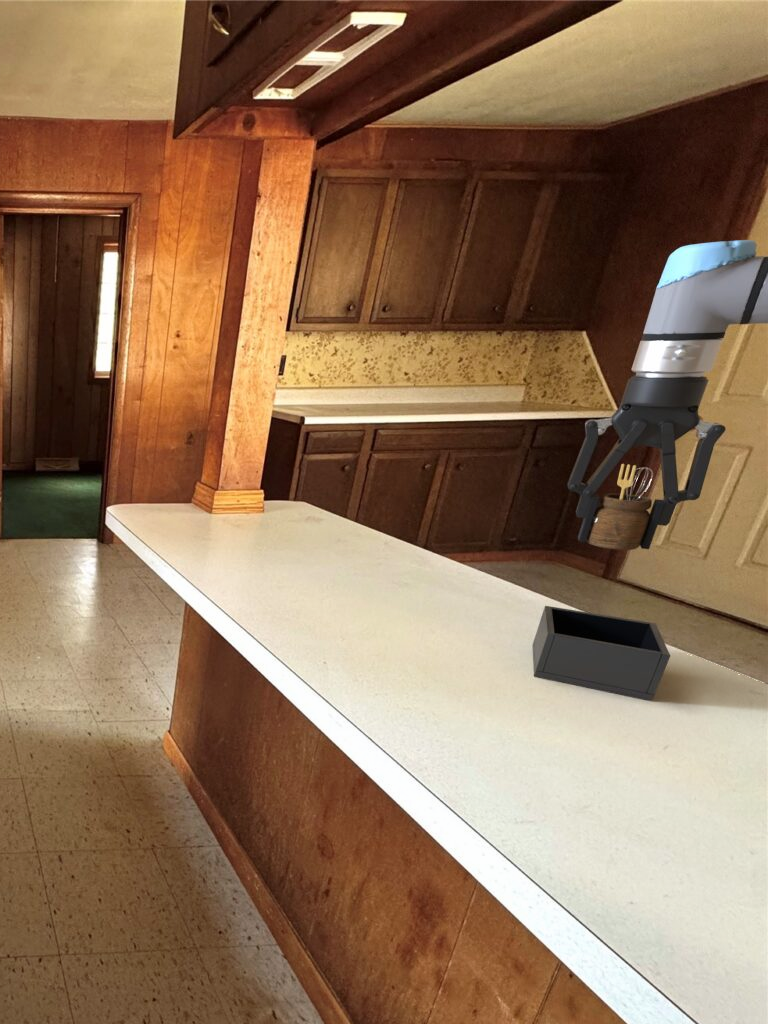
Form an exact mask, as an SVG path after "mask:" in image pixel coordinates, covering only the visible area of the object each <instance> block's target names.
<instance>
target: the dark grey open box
mask: <svg viewBox="0 0 768 1024" xmlns="http://www.w3.org/2000/svg"><path fill="white" fill-rule="evenodd" d="M670 658H671V653H670V651H669V649H668V647H667V644H666V643H665V640H664V639H663V636H662V634H661V632H660V630H659V627H658V625H657V623H656V622H650V621H643V620H637V619H632V618H625V617H620V616H619V617H618V616H612V615H605V614H600V613H595V612H594V613H593V612H588V611H582V610H576V609H570V608H562V607H555V606H550V605H544V608H543V609H542V614H541V617H540V619H539V624H538V627H537V629H536V633H535V635H534V640H533V642H532V663H533V677H535V678H540V679H545V680H549V681H554V682H559V683H564V684H569V685H574V686H578V687H582V688H587V689H593V690H597V691H601V692H607V693H611V694H615V695H621V696H625V697H630V696H631V698H635V697H636V699H640V700H644V701H649V702H652V701H653V699H654V697H655V694H656V692H657V690H658V687H659V685H660V682H661V680H662V678H663V675H664V673H665V670H666V667H667V665H668V663H669V660H670Z"/></svg>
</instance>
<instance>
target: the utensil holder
mask: <svg viewBox="0 0 768 1024" xmlns="http://www.w3.org/2000/svg"><path fill="white" fill-rule="evenodd" d="M643 469H645V466H644V467H643V466H642V467H641V468H640V467H638V468H637V465H636V464H634V465H632V468H631V465H630V464H627V465H626V468H625V463H622V464H621V465H620V469H619V473H618V478H617V482H616V484H617V486H618V487H620V488H621V491H620V493H605V494H604V495H603V496H602V497H601V498H600V500H599V503H600V505H599V506H597V508H596V511H595V514H594V518H593V521H592V524H591V527H590V530H589V533H588V536H587V539H586V543H587V544H590V545H592V546H594V547H598V548H603V549H608V550H616V551H617V550H619V551H632V550H637V549H638V548H639V547H641V546H640V544H641V542H642V540H643V537H644V535H645V532H646V529H647V526H648V523H649V520H650V512H649V511H648V510H649V509H651V508H652V505H653V504H652V502H653V499H652V498H649V497H648V496H647V497H646V496H643V493H641V491H642V489H644V487H645V483H646V481H647V478H648V475H649V474H647V472H645V473H644V477H643V478H642V481H641V484H640V486H639V488H638V490H637V492H636V494H633V492H634V489H635V486H636V483H637V481H638V478H639V476H640V474H641V472H642V471H643ZM630 470H631V473H630ZM637 470H639V471H638V472H637V473H636V471H637ZM647 470H648V471H650V472H651V473H650V474H651V476H650V479H649V481H648V484H647V486H646V488H645V489H644V491H647V490H648V488H649V487H650V485H651V482H652V480H653V477H654V473H653V470H652V469H651V468H649V467H647ZM624 471H625V473H624ZM629 473H630V474H629ZM635 473H636V474H635ZM646 474H647V475H646ZM623 475H624V478H623ZM629 475H630V476H629ZM644 479H645V480H644ZM635 480H636V481H635ZM634 482H635V483H634ZM643 482H644V483H643ZM629 488H630V490H631V491H630V493H629V492H628V490H629ZM628 493H629V494H628ZM640 493H641V494H640ZM639 494H640V495H639Z"/></svg>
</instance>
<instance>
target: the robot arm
mask: <svg viewBox="0 0 768 1024" xmlns="http://www.w3.org/2000/svg"><path fill="white" fill-rule="evenodd" d="M757 246H758V245H757V242H756V241H755V240H751V239H740V240H737V239H736V240H728V241H726V240H725V241H723V240H722V241H712V242H703V243H695V244H688V245H683V246H680V247H679V248H677V249H675V250H674V251H673V252H672V253H670V255H669V256H668V258H667V260H666V263H665V266H664V268H663V271H662V273H661V277H660V279H659V282H658V284H657V286H656V289H655V292H654V296H653V298H652V303H651V306H650V309H649V312H648V315H647V320H646V323H645V326H644V330H643V334H642V336H641V340H640V342H639V345H638V347H637V351H636V354H635V357H634V360H633V364H632V366H631V371H632V372H633V373H635V375H633V376H631V377H630V378H628V379H627V383H626V385H625V388H624V392H623V395H622V398H621V401H620V404H619V407H618V408H617V410H616V411H615V412H614V413H613V414H611V416H610V417H604V418H600V419H599V418H598V419H594V418H591V419H587V420H586V421H585V422H584V429H585V430H584V431H585V438H584V440H583V443H582V445H581V448H580V450H579V453H578V456H577V458H576V461H575V463H574V466H573V468H572V471H571V474H570V475H569V476H570V477H569V479H568V481H567V489H568V490H569V491H570V492H575V493H578V494H579V500H578V504H577V506H576V510H575V517H576V518H582V522H581V526H580V529H579V532H578V535H577V539H578V542H580V543H587V541H586V539H587V536H588V533H589V530H590V527H591V524H592V521H593V518H594V514H595V511H596V509H597V508H598V505H599V503H600V500H601V498H600V495H599V494H595V493H596V492H597V491H598V490H599V488H600V487H601V485H602V484H603V483H604V482H605V480H606V479H607V478H608V477H609V475H610V474H611V473H612V471H613V470H614V469H615V468H616V466H617V465H618V463H619V462H620V461H621V460H622V458H623V457H624V456H625V455H626V454H627V453H628V452H629V450H630V449H631V448H633V447H637V448H638V447H645V446H646V447H651V448H655V449H656V448H658V449H659V450H658V451H659V458H660V469H661V482H662V492H663V493H662V494H663V499H658V498H657V499H654V501H653V504H652V505H651V508H650V512H649V514H650V520H649V523H648V526H647V529H646V532H645V535H644V537H643V540H642V542H641V544H640V546H639V547H640V549H642V550H650V548H651V545H652V542H653V539H654V536H655V534H656V530H657V529H658V526H662V527H663V526H664V527H668V525H669V524H670V523H671V520H672V518H673V514H674V511H675V509H676V507H677V505H678V504H679V503H681V502H685V501H696V500H698V499H699V498H700V497H701V493H702V490H703V486H704V483H705V479H706V475H707V472H708V468H709V466H710V461H711V458H712V455H713V451H714V448H715V444H717V442H718V441H719V439H720V438H721V437H722V435H723V434H724V433H725V432H726V428H727V427H726V426H725V425H723V424H721V423H719V422H709V421H706V420H701V418H700V414H699V409H700V405H701V402H702V400H703V397H704V394H705V391H706V389H707V386H708V383H709V379H708V377H707V376H704V375H705V374H706V373H710V372H712V371H713V369H714V365H715V363H716V360H717V357H718V355H719V352H720V349H721V347H722V344H723V341H724V340H723V339H724V338H725V335H726V332H727V329H728V328H729V326H730V325H749V324H752V325H753V324H768V256H757V252H756V249H757ZM610 426H612V427H613V428H614V430H615V432H616V433H617V435H618V436H619V438H618V440H617V441H616V443H615V444H614V446H613V447H612V448H611V450H610V451H609V453H608V454H606V455H607V456H606V457H605V458H603V461H602V462H601V463H600V464H599V466H598V467H597V468H596V470H595V471H594V472H593V474H592V475H591V476H590V477H589V479H588V481H586V483H583V482H582V481H583V479H584V476H585V474H586V471H587V468H588V467H589V464H590V461H591V459H592V456H593V454H594V452H595V449H596V446H597V443H598V440H599V436H601V435H603V434H606V430H607V429H608V427H610ZM693 429H696V432H695V436H696V438H698V440H697V443H696V446H695V451H694V455H693V458H692V462H691V465H690V468H689V472H688V476H687V480H686V482H685V487H684V489H683V490H682V489H681V490H680V489H679V480H678V468H677V456H676V454H677V450H676V449H677V448H676V441H678V440H679V439H680V438H682V437H684V436H685V435H686V434H687V433H689V432H691V431H692V430H693Z"/></svg>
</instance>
